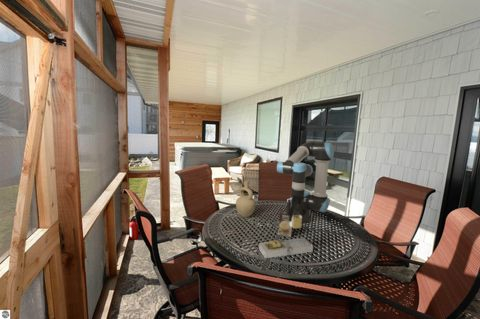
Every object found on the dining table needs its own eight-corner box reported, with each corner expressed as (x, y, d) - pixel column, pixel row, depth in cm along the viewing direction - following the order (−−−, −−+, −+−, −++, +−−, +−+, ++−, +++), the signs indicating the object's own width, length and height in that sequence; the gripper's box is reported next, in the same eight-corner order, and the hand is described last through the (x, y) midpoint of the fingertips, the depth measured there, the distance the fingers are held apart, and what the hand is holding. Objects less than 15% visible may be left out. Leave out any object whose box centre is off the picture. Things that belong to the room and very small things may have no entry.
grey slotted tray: (303, 243, 147) (303, 237, 146) (312, 251, 137) (313, 245, 137) (258, 249, 138) (259, 243, 137) (265, 258, 128) (265, 251, 128)
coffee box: (277, 234, 158) (279, 212, 156) (279, 231, 164) (280, 209, 162) (290, 237, 155) (292, 214, 153) (292, 233, 161) (293, 211, 159)
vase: (231, 215, 191) (232, 180, 187) (245, 210, 202) (247, 178, 198) (244, 221, 179) (246, 184, 175) (259, 216, 190) (261, 181, 186)
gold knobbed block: (296, 224, 142) (297, 214, 141) (301, 227, 137) (301, 217, 136) (289, 225, 140) (290, 215, 139) (293, 228, 135) (294, 218, 135)
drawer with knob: (276, 249, 139) (277, 239, 138) (280, 253, 134) (280, 243, 133) (268, 250, 137) (269, 240, 136) (272, 254, 132) (272, 244, 131)
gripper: (307, 186, 142) (305, 222, 145) (281, 187, 137) (279, 224, 140) (314, 189, 134) (311, 227, 137) (287, 190, 130) (284, 229, 133)
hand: (295, 225), depth 139 cm, fingers closed on gold knobbed block, 5 cm apart
